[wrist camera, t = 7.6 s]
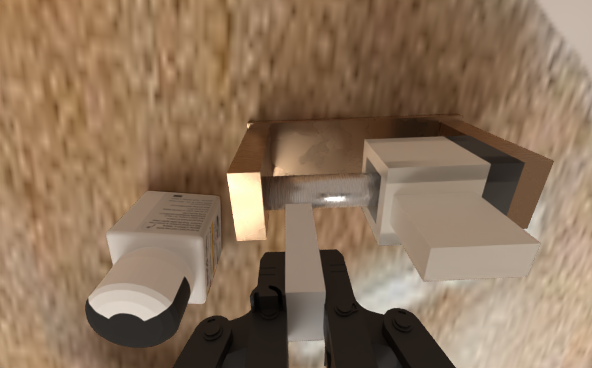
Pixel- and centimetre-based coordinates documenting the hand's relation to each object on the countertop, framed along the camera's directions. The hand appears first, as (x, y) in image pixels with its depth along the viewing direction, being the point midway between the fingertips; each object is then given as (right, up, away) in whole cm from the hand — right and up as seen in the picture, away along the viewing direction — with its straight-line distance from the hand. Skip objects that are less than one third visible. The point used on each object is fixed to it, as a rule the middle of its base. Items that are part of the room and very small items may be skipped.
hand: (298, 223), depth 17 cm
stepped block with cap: (+8, +3, +6) cm, 11 cm away
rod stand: (+5, +6, +11) cm, 14 cm away
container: (-12, -2, +15) cm, 19 cm away
